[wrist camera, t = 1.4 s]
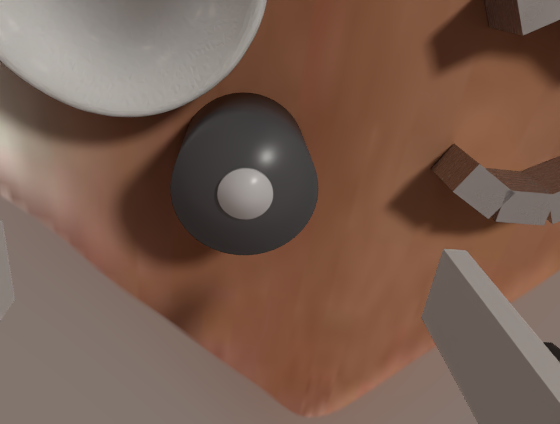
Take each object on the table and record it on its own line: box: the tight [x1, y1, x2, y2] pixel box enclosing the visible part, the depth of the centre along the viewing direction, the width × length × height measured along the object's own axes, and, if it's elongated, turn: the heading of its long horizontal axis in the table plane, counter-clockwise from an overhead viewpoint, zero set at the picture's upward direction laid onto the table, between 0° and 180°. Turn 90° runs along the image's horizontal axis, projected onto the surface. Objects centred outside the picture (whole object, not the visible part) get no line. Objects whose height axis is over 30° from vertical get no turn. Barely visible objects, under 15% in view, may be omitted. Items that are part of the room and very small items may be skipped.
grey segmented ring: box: [431, 0, 560, 225], centre depth 23 cm, size 12×8×3 cm
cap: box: [171, 93, 318, 255], centre depth 22 cm, size 6×6×5 cm
